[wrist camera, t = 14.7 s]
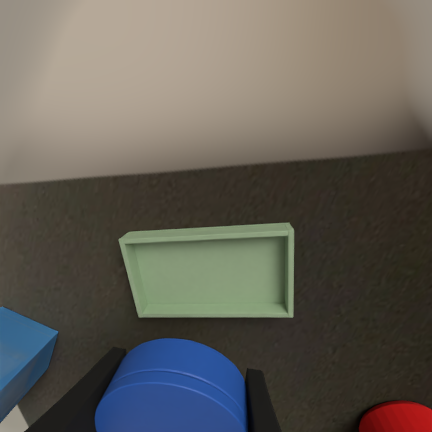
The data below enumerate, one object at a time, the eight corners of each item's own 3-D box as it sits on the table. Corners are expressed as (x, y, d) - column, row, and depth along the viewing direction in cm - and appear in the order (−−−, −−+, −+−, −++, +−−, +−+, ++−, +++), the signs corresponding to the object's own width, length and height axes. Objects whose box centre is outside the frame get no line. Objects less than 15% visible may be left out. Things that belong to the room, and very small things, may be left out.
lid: (271, 369, 8) (280, 423, 7) (220, 444, 10) (216, 501, 8) (135, 317, 8) (110, 359, 6) (108, 403, 10) (83, 452, 8)
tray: (146, 304, 19) (138, 317, 18) (128, 231, 17) (118, 239, 16) (288, 303, 18) (293, 317, 16) (289, 222, 16) (294, 230, 14)
